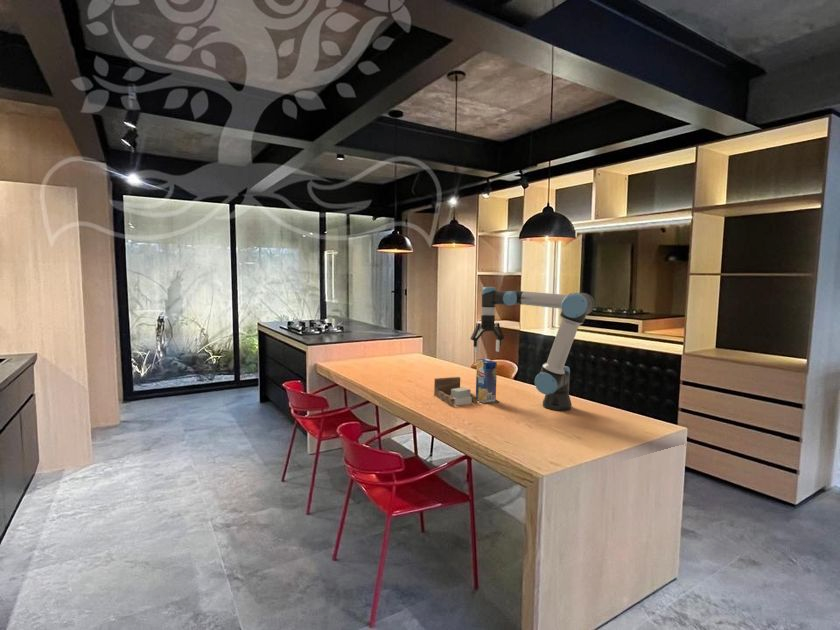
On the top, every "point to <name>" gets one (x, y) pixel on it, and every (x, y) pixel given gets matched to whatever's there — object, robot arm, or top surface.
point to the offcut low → (462, 400)
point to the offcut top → (460, 392)
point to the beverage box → (486, 380)
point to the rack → (448, 389)
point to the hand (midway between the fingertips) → (487, 352)
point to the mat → (488, 402)
